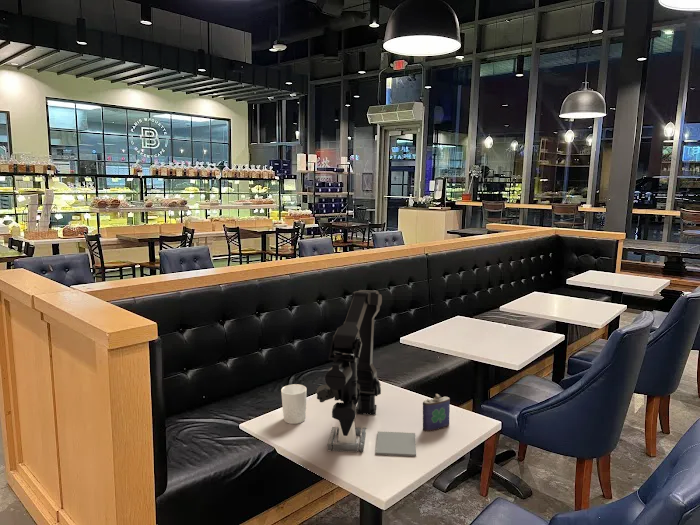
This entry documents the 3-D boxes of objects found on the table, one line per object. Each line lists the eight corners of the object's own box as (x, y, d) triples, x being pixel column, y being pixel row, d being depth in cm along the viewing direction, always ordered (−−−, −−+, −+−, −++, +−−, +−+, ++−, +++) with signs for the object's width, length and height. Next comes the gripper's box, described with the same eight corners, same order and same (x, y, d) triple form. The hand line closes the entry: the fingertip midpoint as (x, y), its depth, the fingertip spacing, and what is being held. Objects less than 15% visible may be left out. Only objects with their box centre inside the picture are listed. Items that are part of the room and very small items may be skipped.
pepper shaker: (345, 449, 147) (345, 412, 145) (334, 441, 151) (333, 405, 149) (360, 442, 150) (360, 406, 148) (348, 435, 154) (348, 400, 153)
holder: (332, 433, 156) (332, 426, 156) (365, 434, 155) (365, 428, 155) (327, 450, 146) (327, 443, 146) (363, 452, 145) (363, 445, 145)
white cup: (277, 419, 165) (276, 389, 164) (296, 411, 171) (295, 382, 169) (292, 427, 160) (291, 396, 158) (312, 419, 165) (311, 389, 163)
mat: (377, 433, 156) (377, 431, 156) (415, 434, 155) (415, 432, 154) (375, 454, 144) (375, 452, 144) (416, 456, 143) (416, 454, 143)
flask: (446, 422, 162) (447, 390, 160) (451, 426, 159) (452, 393, 158) (420, 428, 158) (421, 395, 156) (426, 433, 156) (426, 399, 154)
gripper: (323, 363, 157) (324, 412, 160) (312, 388, 139) (313, 443, 141) (360, 364, 156) (360, 413, 159) (354, 389, 138) (355, 444, 140)
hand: (347, 427), depth 150 cm, fingers open, 9 cm apart
